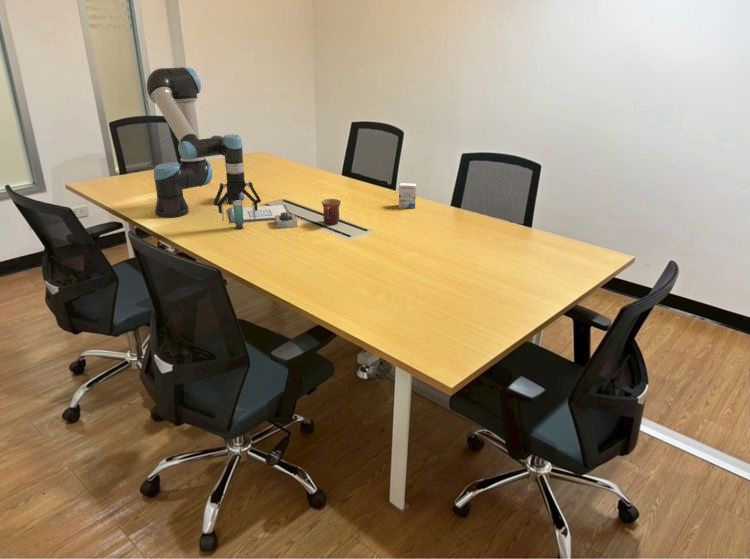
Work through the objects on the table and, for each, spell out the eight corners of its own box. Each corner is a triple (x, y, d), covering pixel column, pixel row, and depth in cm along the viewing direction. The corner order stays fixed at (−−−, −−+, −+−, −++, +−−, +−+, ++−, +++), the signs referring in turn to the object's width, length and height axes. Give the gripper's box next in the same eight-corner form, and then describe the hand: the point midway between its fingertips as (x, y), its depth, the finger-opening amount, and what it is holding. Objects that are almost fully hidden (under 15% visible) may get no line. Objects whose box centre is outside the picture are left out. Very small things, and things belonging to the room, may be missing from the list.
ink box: (415, 205, 292) (416, 183, 287) (414, 208, 287) (416, 186, 282) (398, 204, 293) (399, 182, 288) (398, 207, 288) (399, 185, 283)
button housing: (277, 228, 256) (277, 221, 254) (274, 221, 264) (274, 215, 262) (297, 226, 258) (297, 220, 257) (294, 220, 266) (293, 214, 265)
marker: (235, 229, 253) (233, 203, 248) (234, 226, 256) (232, 200, 251) (244, 228, 254) (242, 202, 249) (243, 225, 257) (241, 200, 252)
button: (281, 222, 258) (281, 215, 256) (280, 219, 261) (280, 212, 260) (291, 221, 259) (291, 215, 257) (289, 218, 263) (289, 212, 261)
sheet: (231, 223, 260) (231, 220, 260) (228, 209, 277) (228, 207, 277) (292, 218, 268) (292, 216, 268) (285, 206, 285) (285, 203, 285)
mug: (324, 218, 269) (324, 198, 265) (342, 220, 268) (342, 199, 263) (317, 227, 258) (317, 205, 254) (336, 229, 257) (336, 207, 253)
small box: (240, 204, 286) (238, 184, 282) (227, 203, 286) (225, 183, 282) (245, 198, 296) (243, 178, 291) (232, 197, 296) (230, 178, 291)
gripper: (205, 175, 238) (210, 223, 246) (265, 172, 244) (268, 219, 253) (204, 171, 244) (209, 218, 253) (263, 168, 251) (266, 214, 260)
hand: (238, 218), depth 253 cm, fingers open, 13 cm apart
